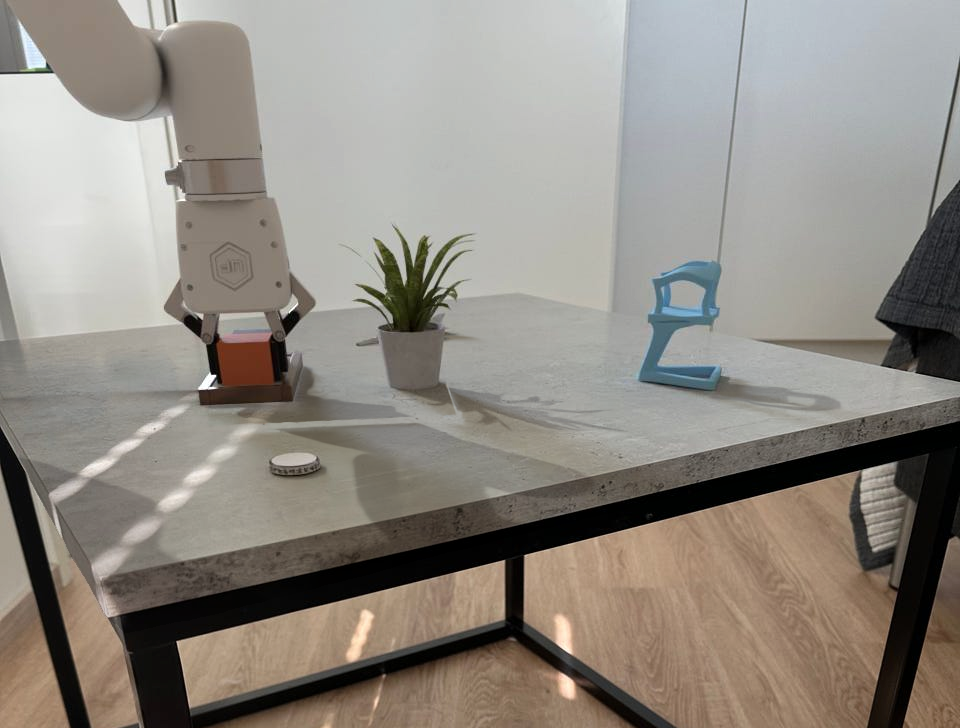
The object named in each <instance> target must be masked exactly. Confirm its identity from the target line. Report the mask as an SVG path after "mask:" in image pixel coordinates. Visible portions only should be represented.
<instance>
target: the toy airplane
mask: <svg viewBox="0 0 960 728" xmlns="http://www.w3.org/2000/svg"><path fill="white" fill-rule="evenodd" d="M445 316H446V312H442V313H437V314H435V316H432V318H431V319H430V321H429V322H436V323H440V324H442V323H443V319H444V318H445ZM456 324H457V323H455V322H454V323H453V325H456ZM449 326H450V324H449V323H447V327H445V330H448V329H449ZM446 334H447V333H446V332H445V333H444V335H446ZM376 343H379V340H378V335H377V334H376V336H374V337H370V338H369V337H368V338H366V339H364V340H361V341H359V342H357V343H355V346H358V347H359V346H365V345H372V344H376Z"/></svg>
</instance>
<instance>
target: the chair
mask: <svg viewBox="0 0 960 728" xmlns="http://www.w3.org/2000/svg"><path fill="white" fill-rule="evenodd" d="M722 271H723V270H722V265H721V264H720V263H719V262H717V261H716V260H713V259H712V260H711V261H710V262H709V261H702V260H692V261H688V262H685V263H683V264H681V265H679V266H677V267H675V268H673V269H671V270H667V271H661V272H660V276H658V277H652V278H651V282H652V285H653V289H654V294H655V303H654V304H655V305H654V308H653V310H652V311H650V312H649V313H647V323H648V324H650V325H651V327H652V335H651V339H650V341H649V345H648V347H647V350H646V353H645V355H644V358H643V360H642V363H641V365H640V368H639V370H638V375H637V381H640V382H641V381H642V382H650V383H658V384H666V385H671V386H679V387H685V388H692V389H699V390H704V391H705V390H706V391H714V389H715V387H716V386H717V383H719V380H720V378H721V376H722V371H723V366H720V365H658V364H659V362H660V360H661V358H662V356H663V353H664V351H665V349H667V348H666V347H667V345H668V344H669V342H670V340H671V338H672V337H673V335H674V333H675V332H676V331H678V330H680V329H684V328H688V327H693V326H696V325H697V326H711V327H712V326H713V324H714V322H715V320H716V319H718V318H719V317H720V311H721V310H720V309H721V306H717V305H716V292H717V289H718V286H719V283H720V279H721V276H722ZM679 281H685V282H690V283H692V284H693V283H694V284H696V285H698V286H699V287H700V288H703V289H704V293H703V295H702V297H701V302H700V306H681V305H674V304H671V299H672V298H671V297H672V292H671V291H672V290H671V286H670V285H671V284H672V283H675V282H679ZM662 288H663V290H662ZM693 376H694V377H693ZM695 376H710V377H709V378H701V377H695Z"/></svg>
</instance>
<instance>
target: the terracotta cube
mask: <svg viewBox="0 0 960 728" xmlns="http://www.w3.org/2000/svg"><path fill="white" fill-rule="evenodd" d="M271 334H272V333H250V334H231V333H228V334H227V333H225V334H222V336H220V340H219V341H218V342H217V344H216V345H217V351H218V358H219V365H220V371H221V378H222V387H224V386H249V385H275V381H274V374H273V366H272V357H271V349H270V342H271Z"/></svg>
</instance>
